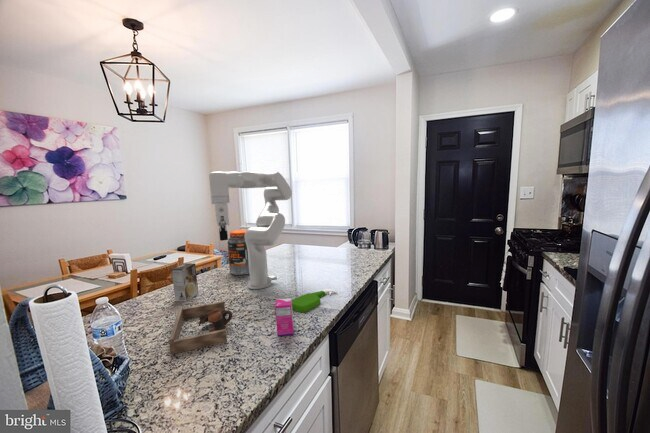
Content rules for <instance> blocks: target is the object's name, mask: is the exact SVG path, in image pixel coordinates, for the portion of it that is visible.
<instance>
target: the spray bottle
mask: <svg viewBox="0 0 650 433" xmlns="http://www.w3.org/2000/svg"><path fill="white" fill-rule="evenodd" d="M337 293H338V290H334V289H330V288H323V289H322V290H320V291H315V292H308V293H305V294H302V295H299V296H298V297H295V298H293V299H291V300H292V311H295V312H298V313H306V312H308V311H311V310H312V309H315V308H316V307H318V306H319V305H321V298H322V297H325V296H326V295H329V296H331V295H332V294H337Z"/></svg>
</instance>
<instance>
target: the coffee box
mask: <svg viewBox="0 0 650 433" xmlns="http://www.w3.org/2000/svg"><path fill="white" fill-rule="evenodd" d="M196 268H197V267H196V263H190V262H189V263H185V262H184V263H182V264H179V265H177V266H176V267H175V266H174V267H173V268H171V276H172V277H171V278H172V287H173V292H174V293H173V294H174V300H175V302H188V301H189V300H191V299H193V298H194V297H196V296H197V295H199V287H198V276H197V269H196Z"/></svg>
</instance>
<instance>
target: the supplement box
mask: <svg viewBox="0 0 650 433" xmlns="http://www.w3.org/2000/svg"><path fill="white" fill-rule="evenodd" d="M292 300H293V299H292V298H290V297H289V298H281V299H280V298H279V299H276V300H275V305H274V311H275V312H274V314H275V322H276V323H275V324H276V334H277V337H287V336H294V332H295V325H294V315H293V314H294V313H293V309H292Z"/></svg>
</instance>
